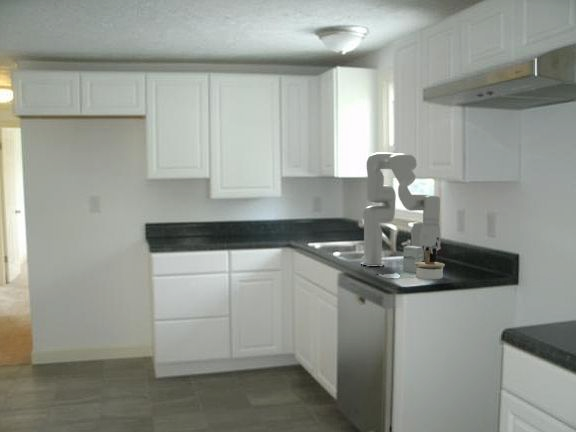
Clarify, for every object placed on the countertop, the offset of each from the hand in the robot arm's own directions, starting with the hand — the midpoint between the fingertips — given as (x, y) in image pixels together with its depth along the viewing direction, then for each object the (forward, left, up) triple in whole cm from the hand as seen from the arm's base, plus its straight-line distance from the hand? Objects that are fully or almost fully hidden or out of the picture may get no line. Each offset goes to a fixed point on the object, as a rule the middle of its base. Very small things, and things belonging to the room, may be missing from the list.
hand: (429, 260), depth 282 cm
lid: (0, 0, -2) cm, 2 cm away
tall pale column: (-45, +29, -8) cm, 54 cm away
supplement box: (-18, +4, -8) cm, 20 cm away
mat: (-9, -14, -8) cm, 18 cm away
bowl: (0, 0, -8) cm, 8 cm away
